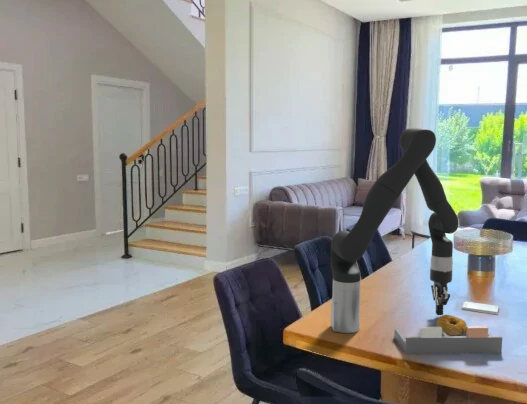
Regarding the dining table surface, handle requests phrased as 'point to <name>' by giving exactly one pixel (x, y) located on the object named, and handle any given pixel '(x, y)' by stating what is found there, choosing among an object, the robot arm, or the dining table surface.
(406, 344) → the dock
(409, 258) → the dining table surface
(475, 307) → the hard drive
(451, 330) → the bagel
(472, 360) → the dining table surface
